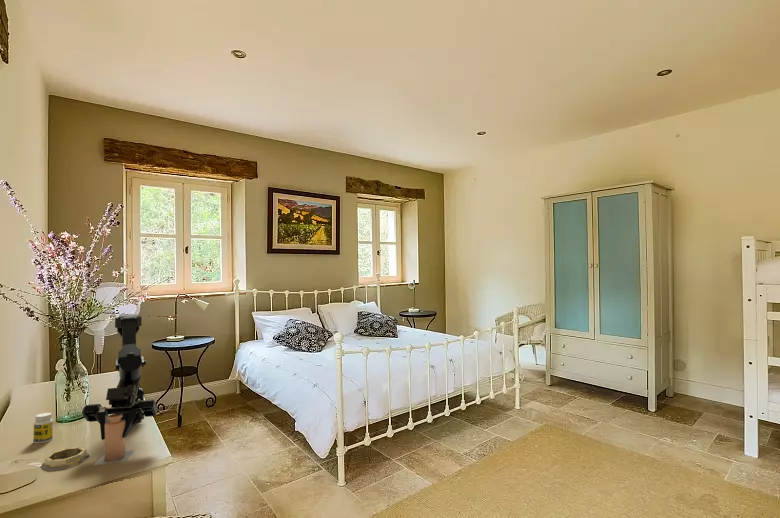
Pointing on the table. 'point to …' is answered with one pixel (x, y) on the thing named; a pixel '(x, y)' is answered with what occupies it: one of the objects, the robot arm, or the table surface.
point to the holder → (65, 458)
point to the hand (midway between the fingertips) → (113, 438)
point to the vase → (114, 438)
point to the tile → (124, 459)
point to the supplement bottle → (43, 428)
